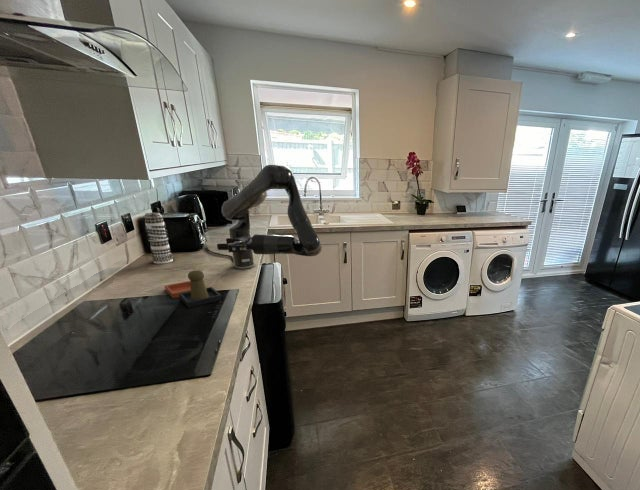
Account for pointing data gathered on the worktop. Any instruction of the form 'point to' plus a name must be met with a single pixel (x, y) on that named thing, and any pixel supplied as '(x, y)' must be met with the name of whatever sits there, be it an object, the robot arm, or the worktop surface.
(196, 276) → the cork
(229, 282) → the worktop surface
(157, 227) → the white patterned cylinder
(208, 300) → the charcoal tray
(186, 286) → the terracotta tray
